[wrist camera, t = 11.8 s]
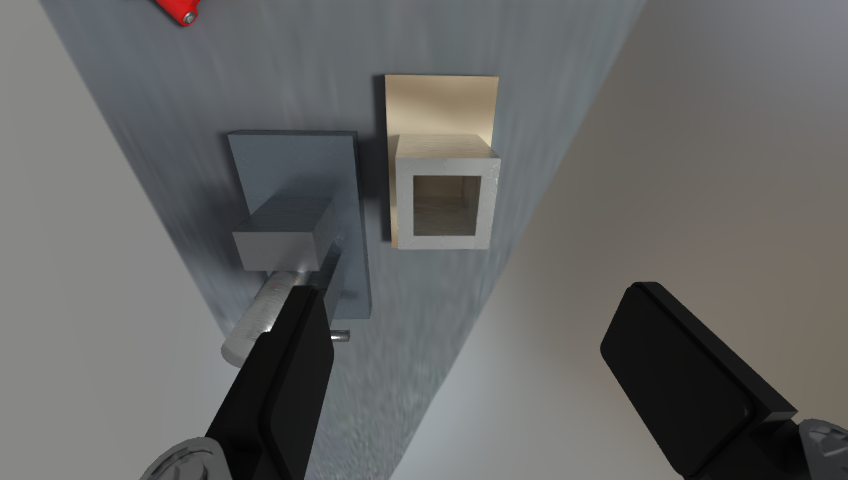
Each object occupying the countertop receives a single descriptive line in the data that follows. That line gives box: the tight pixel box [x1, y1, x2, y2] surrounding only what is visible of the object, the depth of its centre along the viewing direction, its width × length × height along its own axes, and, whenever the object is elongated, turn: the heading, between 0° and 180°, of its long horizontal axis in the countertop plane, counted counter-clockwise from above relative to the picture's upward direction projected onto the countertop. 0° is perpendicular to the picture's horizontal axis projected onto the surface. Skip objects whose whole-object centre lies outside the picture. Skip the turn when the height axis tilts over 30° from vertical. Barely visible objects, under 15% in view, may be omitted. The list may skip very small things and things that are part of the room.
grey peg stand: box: [221, 130, 372, 368], centre depth 22 cm, size 18×9×14 cm, turn 179°
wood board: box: [385, 74, 499, 248], centre depth 25 cm, size 14×8×1 cm, turn 179°
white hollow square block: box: [395, 134, 501, 249], centre depth 22 cm, size 6×6×7 cm
